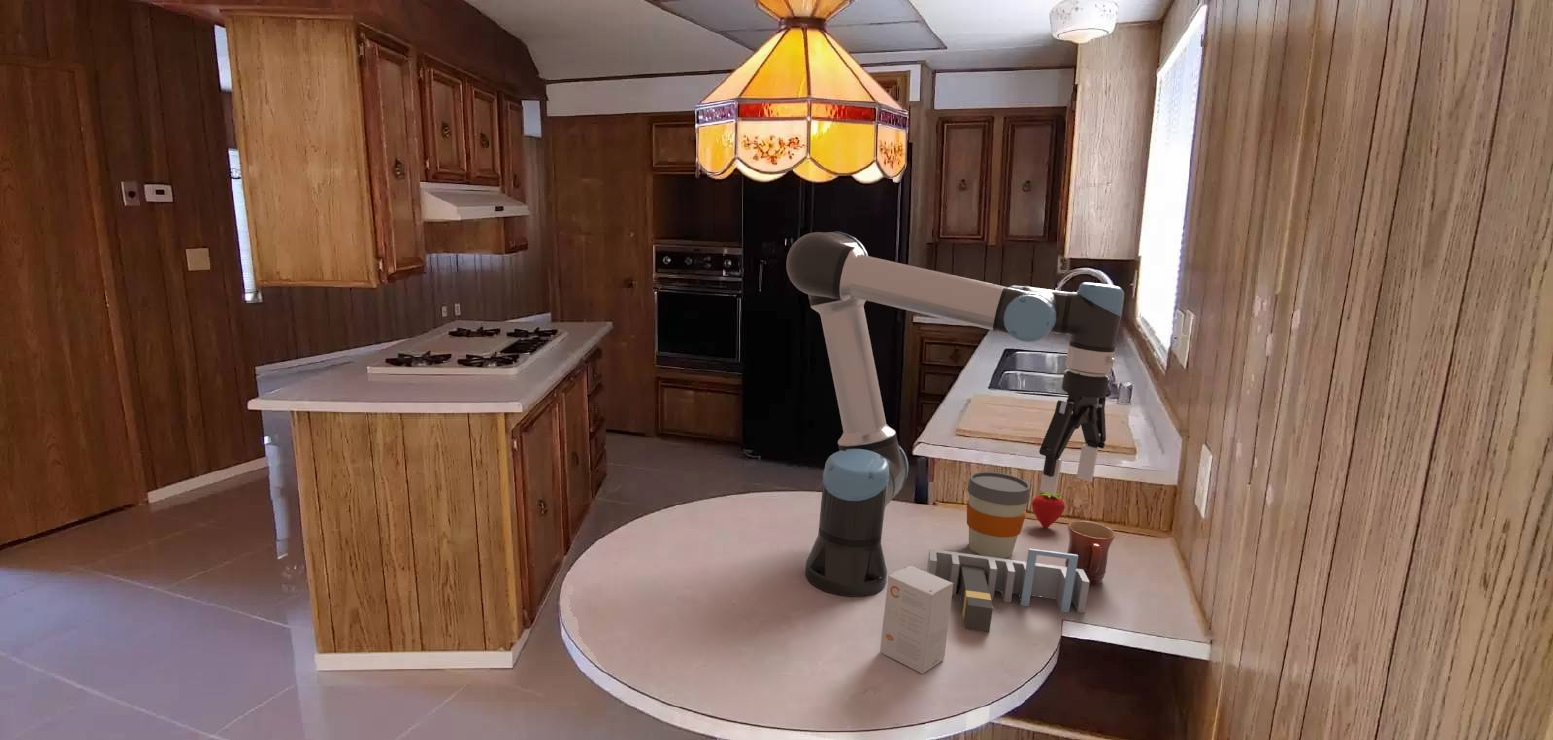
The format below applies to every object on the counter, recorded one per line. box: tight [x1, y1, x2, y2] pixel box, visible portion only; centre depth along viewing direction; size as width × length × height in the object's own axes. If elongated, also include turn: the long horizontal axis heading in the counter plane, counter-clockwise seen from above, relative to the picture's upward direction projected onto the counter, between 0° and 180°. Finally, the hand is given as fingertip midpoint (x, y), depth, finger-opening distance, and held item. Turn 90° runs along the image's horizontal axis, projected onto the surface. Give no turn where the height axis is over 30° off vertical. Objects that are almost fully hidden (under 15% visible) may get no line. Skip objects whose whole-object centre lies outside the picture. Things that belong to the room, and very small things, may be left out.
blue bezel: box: [1019, 547, 1078, 613], centre depth 142 cm, size 8×1×11 cm, turn 81°
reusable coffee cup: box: [966, 471, 1031, 559], centre depth 166 cm, size 13×13×15 cm
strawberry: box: [1031, 492, 1066, 529], centre depth 181 cm, size 6×8×10 cm
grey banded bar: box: [957, 564, 994, 634], centre depth 141 cm, size 4×16×5 cm, turn 172°
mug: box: [1064, 520, 1117, 586], centre depth 155 cm, size 12×9×10 cm
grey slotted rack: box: [926, 548, 1090, 614], centre depth 147 cm, size 28×5×6 cm, turn 81°
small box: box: [879, 565, 953, 675], centre depth 123 cm, size 8×6×13 cm
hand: (1066, 486), depth 144 cm, fingers open, 13 cm apart
